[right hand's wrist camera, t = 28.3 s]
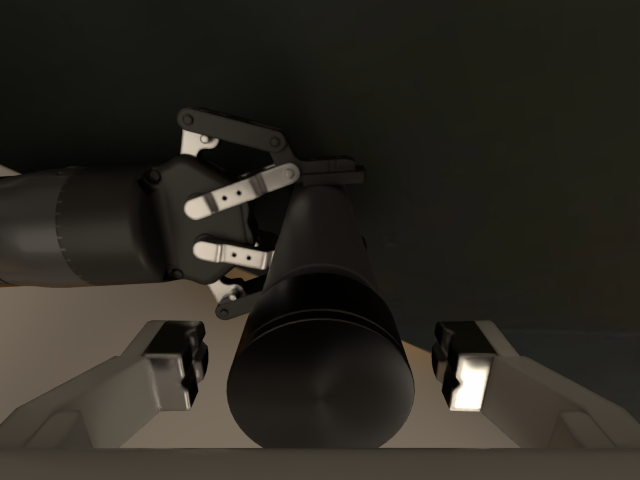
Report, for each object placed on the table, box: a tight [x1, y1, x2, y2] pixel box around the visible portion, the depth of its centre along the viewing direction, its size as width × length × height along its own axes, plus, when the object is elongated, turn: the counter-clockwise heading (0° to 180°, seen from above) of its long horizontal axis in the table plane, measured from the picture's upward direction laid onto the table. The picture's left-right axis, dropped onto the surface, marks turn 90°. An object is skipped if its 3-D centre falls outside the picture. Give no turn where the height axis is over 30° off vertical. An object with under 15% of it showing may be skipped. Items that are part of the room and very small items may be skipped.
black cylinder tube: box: [261, 182, 380, 296], centre depth 19 cm, size 4×4×20 cm
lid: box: [227, 273, 415, 448], centre depth 9 cm, size 4×4×2 cm
